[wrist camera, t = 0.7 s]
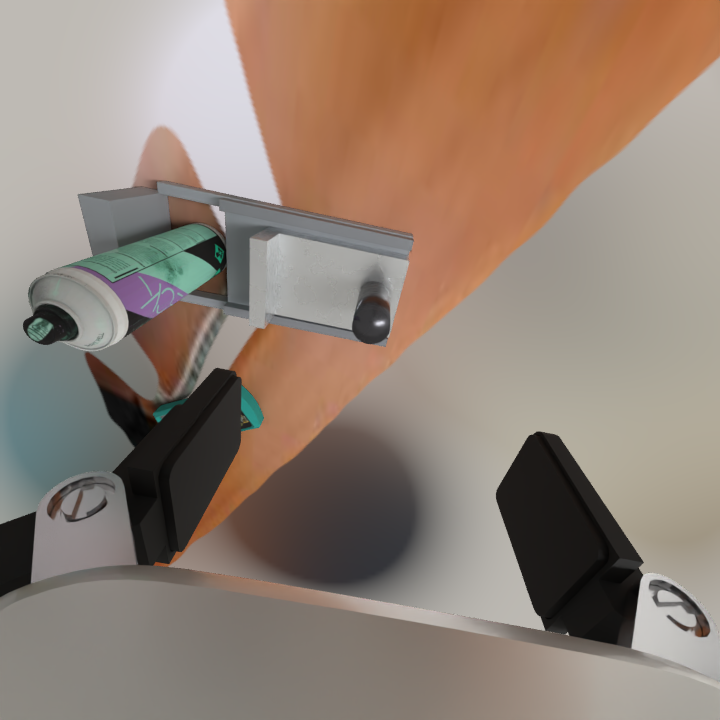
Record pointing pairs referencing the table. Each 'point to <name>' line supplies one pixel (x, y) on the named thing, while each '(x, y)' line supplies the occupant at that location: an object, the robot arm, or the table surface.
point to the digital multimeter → (249, 411)
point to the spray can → (122, 287)
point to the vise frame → (242, 219)
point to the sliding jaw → (324, 282)
